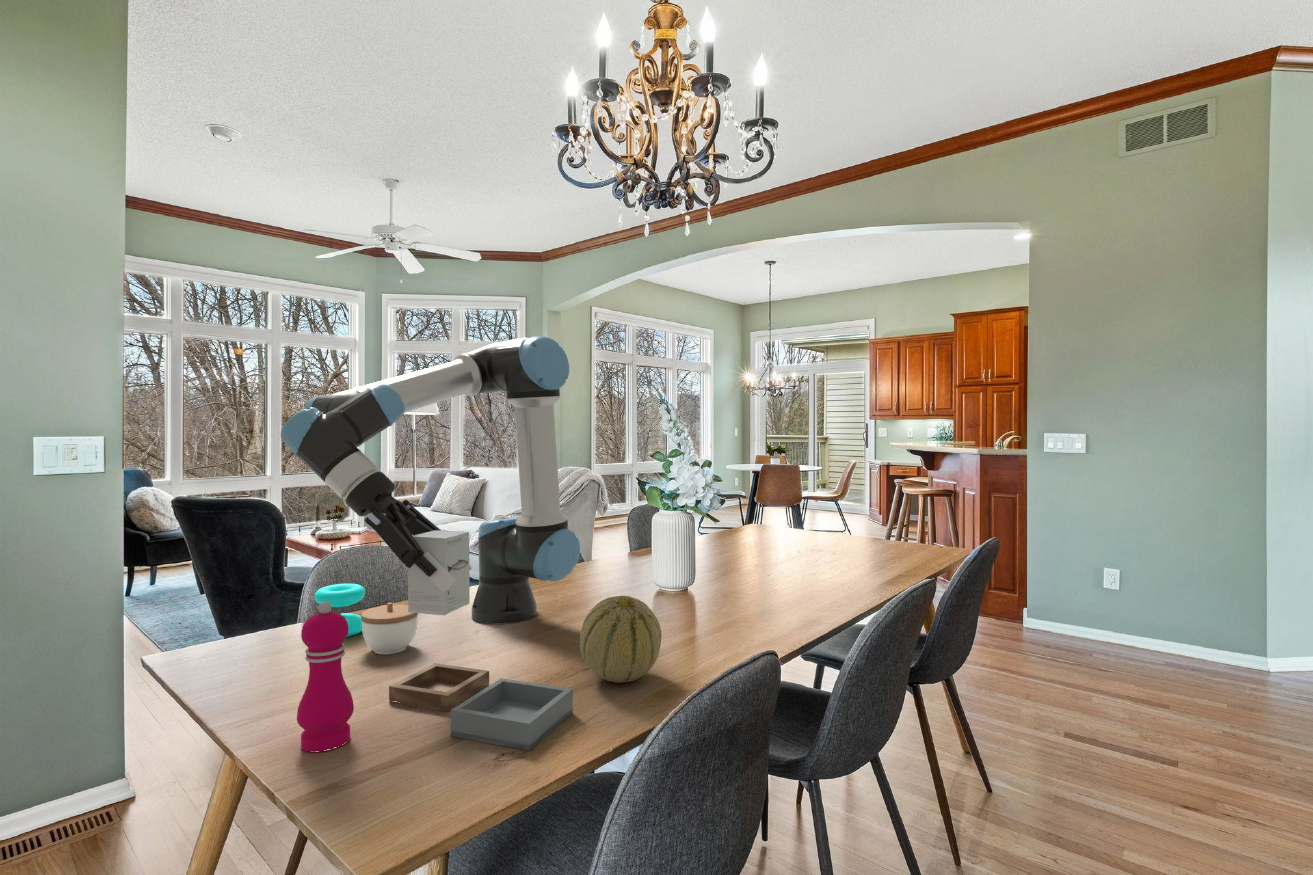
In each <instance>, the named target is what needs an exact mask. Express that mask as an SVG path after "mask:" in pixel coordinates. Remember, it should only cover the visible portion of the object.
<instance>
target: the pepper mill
mask: <svg viewBox="0 0 1313 875" xmlns="http://www.w3.org/2000/svg"><path fill="white" fill-rule="evenodd" d="M317 609H318V612H317V613H316V614H313V615H312V616H310V617H309V618H308V619H306V620H305V622H304V624H303V625H302V628H301V636H300V638H301V640H302V643H303V644H304V645H306V647H307V648H306V649H305V651H304V653H305V658H304V659H305V661H306V662H308V664H309V665H308V666H309V667H308V668H309V670H308V671H309V672H308V674H309V675H308V681H307V685H306V687H305V689H304V692H303V695H302V696H301V699H300V701H299V704H298V707H297V713H296V722H297V724H298V726H299V727H300V728H301V729H303V731H302V732H301V734H300V748H301V747H302V748H301V749H302V750H303V749H304V750H306V751H305V752H307V751H324V750H327V749H333V748H334V747H338V746H340V745H342V744H344V743H345V742H347V741H348V740H349V741H350V739H351V725H350V724H349V723H348V721H349V720H350V718H351V717H353V716H352V715H353V713H354V709H355V705H354V700H353V696H352V693H351V691H350V690H349V687H348V686H347V683H346V681H345V679H344V676H343V670H342V660H343V657H344V656H345V655H346V652H345V648H346V645H345V644H344V641H345V640H346V639H347V638H348V637H347V635H348V631H349V629H348V622H347V620H346V618H345V617H344V616H343V615H341V614H342V613H339V612H336V611H332V610H333V607H332V605H331V603H329V602H322V603H321V604H318V606H317ZM349 741H348V742H349ZM348 742H347V743H348ZM344 745H345V744H344ZM304 750H303V751H304ZM333 750H334V749H333Z"/></svg>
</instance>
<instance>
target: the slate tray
mask: <svg viewBox="0 0 1313 875" xmlns="http://www.w3.org/2000/svg"><path fill="white" fill-rule="evenodd" d="M573 693H574V690H573V688H569V687H561V686H555V685H548V684H543V683H536V682H529V681H528V682H527V681H521V680H514V679H507V678H503V677H502V678H499V679H498V680H496V681H494V682H493V683H491V684H489V686H487V687H486V688H484V689H483V690H481V691H479V692H478V693H476V694H475V695H473V696H471V697H470V698H468V699H467V700H465V701H463V702H462V703H460V704H459V705H457V706H455V707H454V708H452V709H451V710H450V737H452V736H456V737H455V738H457V737H458V739H462V738H466V739H465V740H468V739H469V741H473V740H475V741H474V742H478V743H484V744H490V745H493V746H494V745H495V746H501V747H506V748H511V749H514V750H515V749H517V750H521V751H525V752H531V751H532V749H534V748H535V747H536V746H537V745H538V744H540V743H541V742H542V741H543V740H544V739H545V738H546V737H547V736H548V735H550V734H551V733H552V732H553V731H554V730H556V729H557V727H559V726H560V725H561V724H562V723H564V722H565V720H567V719H569V717H570V716H571V715H572V714H574V709H573V708H574V700H573V698H574V697H573V696H574V695H573Z"/></svg>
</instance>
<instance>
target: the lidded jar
mask: <svg viewBox="0 0 1313 875" xmlns="http://www.w3.org/2000/svg"><path fill="white" fill-rule="evenodd" d="M418 615H419V613H413V612H408V604H401V603H400V604H399V603H398V604H394V603H393V602H387V603H386V605H380V606H376V607H371V608H369V609H366V610H364V611H362V612H361V614H360V616H361V620H362V631H361V632H362V636H363V640H364V642H365V644H366V645H367V647H369V648H370V649H371V650H372V651H373V652H375V654H376V653H377V655H393V654H398V653H401V652H404V651H405V650H406V649H407V646H409V645H410V644H411V642H412V641H413V640H414V639H415V636H416V633H417V629H418V621H419V620H418V619H419V617H418ZM397 652H398V653H397Z"/></svg>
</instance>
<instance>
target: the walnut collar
mask: <svg viewBox="0 0 1313 875" xmlns="http://www.w3.org/2000/svg"><path fill="white" fill-rule="evenodd" d="M436 681H439V682H446V683H452V684H457V685H455V686H453V687H451V688H450V689H449V690H447V691H443V690H435V689H430V688H425V687H426V686H429V685H430V684H432V683H434V682H436ZM424 686H425V687H424ZM488 686H490V670H486V669H480V668H479V669H478V668H473V667H466V666H465V667H464V666H456V665H451V664H450V665H449V664H445V663H438V662H434V663H432V664H431V665H428V666H426V667H424V668H421V669H420V670H418V671H417V672H414V673H412V674H410V675H409V676H406V677H404V678H402V679H400V680H399V681H396V682H395V683H393V684H391V685H389V686H388V701H389V700H390V701H397V702H400V703H403V704H402V705H406V704H409V705H408V706H412V705H413V707H418V706H420V707H419V708H423V707H425V708H426V709H429V708H430V709H431V710H434V711H435V710H436V711H441V710H442V712H446V713H448V712H449V711H451V710H452V709H453V708H455V707H456V706H458V704H459V705H460V704H461V702H462V703H463V702H464V701H466V699H469V697H470V698H471V697H472V696H474V695H475V694H477V693H479V692H480V691H482V690H483V689H485V688H487V687H488ZM400 703H399V704H400ZM425 708H424V709H425Z"/></svg>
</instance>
